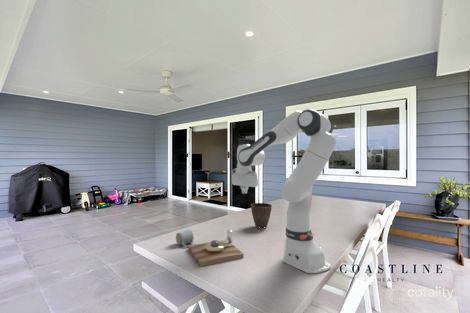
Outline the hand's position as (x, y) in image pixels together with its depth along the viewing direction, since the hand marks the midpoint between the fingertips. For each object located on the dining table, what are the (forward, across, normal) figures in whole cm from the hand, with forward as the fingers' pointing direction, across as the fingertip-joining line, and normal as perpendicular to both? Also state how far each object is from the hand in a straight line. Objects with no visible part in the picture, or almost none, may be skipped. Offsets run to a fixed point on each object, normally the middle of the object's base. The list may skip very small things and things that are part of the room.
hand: (244, 193), depth 139 cm
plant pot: (+28, +10, -26) cm, 39 cm away
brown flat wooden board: (+28, -6, +27) cm, 39 cm away
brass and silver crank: (+25, -6, +24) cm, 35 cm away
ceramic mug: (+28, +16, +32) cm, 45 cm away
